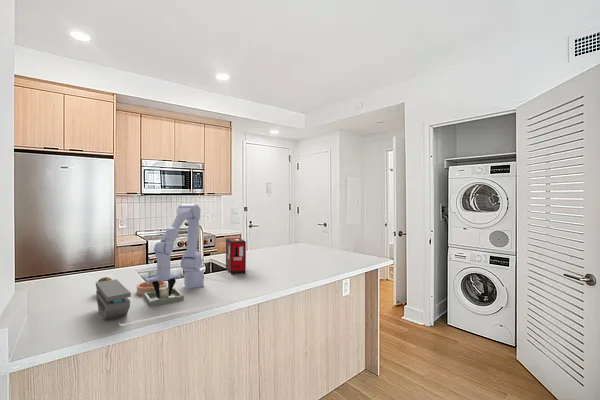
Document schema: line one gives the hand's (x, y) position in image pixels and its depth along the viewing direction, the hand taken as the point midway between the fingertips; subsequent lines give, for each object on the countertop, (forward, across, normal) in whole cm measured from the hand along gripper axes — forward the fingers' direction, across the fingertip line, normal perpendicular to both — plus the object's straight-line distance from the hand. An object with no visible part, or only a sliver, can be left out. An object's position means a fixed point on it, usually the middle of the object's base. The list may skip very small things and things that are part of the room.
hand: (163, 296), depth 143 cm
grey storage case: (+2, -21, -5) cm, 22 cm away
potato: (+2, -21, +23) cm, 31 cm away
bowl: (+2, -2, +15) cm, 15 cm away
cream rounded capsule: (+1, 0, 0) cm, 1 cm away
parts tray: (+2, 0, 0) cm, 2 cm away
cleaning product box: (+2, +51, +31) cm, 59 cm away
